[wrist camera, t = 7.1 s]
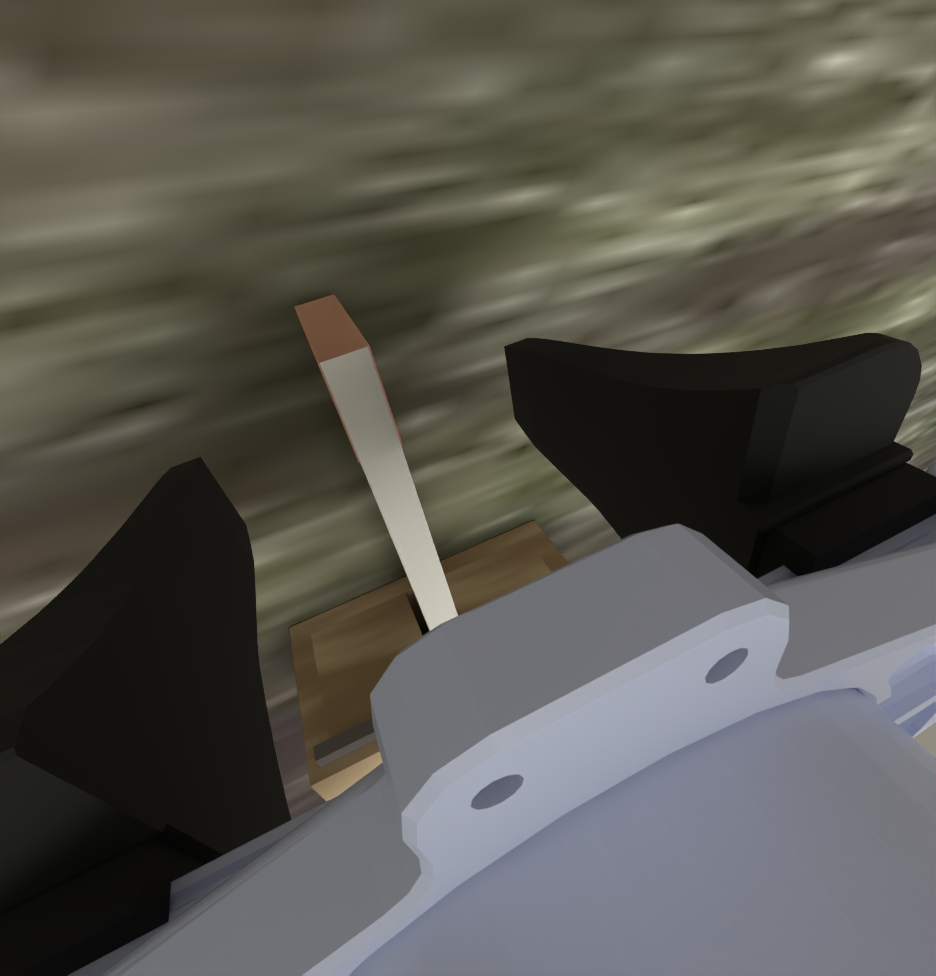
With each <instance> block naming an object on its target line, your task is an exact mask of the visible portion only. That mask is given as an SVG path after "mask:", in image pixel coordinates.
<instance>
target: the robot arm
mask: <svg viewBox="0 0 936 976" xmlns="http://www.w3.org/2000/svg"><path fill="white" fill-rule="evenodd" d="M504 348H505V355H506V361H507V368H508V375H509V382H510V389H511V396H512V402H513V409H514V416H515V420H516V421H517V423H518V424H519V425H520V427H521V428H522V430H523V431H524V432H525V434H526V435H527V437H528V438H529V439H530V440H531V442H532V443H533V444H534V446H535V447H536V448H537V449H538V450H539V451H540V452H541V453H542V454H543V455H544V456H545V457H546V458H547V459H548V460H549V461H550V462H551V463H552V464H553V465H554V466H555V467H556V468H557V469H558V470H559V471H560V472H561V473H562V474H563V475H564V476H565V477H566V478H567V479H568V480H569V481H570V482H571V483H572V484H573V485H574V486H576V487H577V488H578V489H579V490H580V491H581V492H582V493H583V494H584V495H585V496H586V497H587V498H588V499H589V500H590V501H591V503H592V504H593V505H594V506H595V507H596V508H597V509H598V510H599V511H600V513H601V514H602V515H603V516H604V518H605V519H606V520H607V521H608V523H609V524H610V525H611V526H612V528H613V529H614V530H615V531H616V533H617V534H618V535H619V536H620V538H621V540H619V541H617V542H615V543H612V544H610V545H608V546H606V547H604V548H602V549H600V550H598V551H595V552H593V553H591V554H589V555H587V556H585V557H583V558H580V559H578V560H576V561H574V562H572V563H570V564H568V565H566V566H563V567H561V568H559V569H557V570H555V571H553V572H551V573H548V574H546V575H544V576H542V577H540V578H538V579H536V580H534V581H531V582H529V583H527V584H525V585H523V586H521V587H519V588H516V589H514V590H512V591H510V592H508V593H506V594H504V595H501V596H499V597H497V598H495V599H493V600H491V601H489V602H487V603H484V604H482V605H480V606H478V607H476V608H474V609H472V610H469V611H467V612H465V613H463V614H461V615H459V616H457V617H455V618H452V619H450V620H448V621H446V622H444V623H442V624H440V625H438V626H437V627H435V628H434V629H432V630H431V631H429V632H428V633H426V634H425V635H423V636H422V637H420V638H419V639H418V640H416V641H415V642H413V643H412V644H410V645H409V646H407V647H406V648H404V649H403V650H401V651H400V652H399V653H398V654H397V656H396V657H395V658H394V660H393V661H392V663H391V664H390V666H389V667H388V668H387V670H386V671H385V673H384V674H383V676H382V677H381V679H380V680H379V682H378V683H377V685H376V686H375V688H374V689H373V691H372V692H371V694H370V701H371V712H372V722H373V727H374V731H375V735H376V739H377V743H378V747H379V751H380V754H381V758H382V762H383V763H381V764H380V765H379V766H377V767H376V768H375V769H373V770H372V771H371V772H369V773H368V774H367V775H365V776H364V777H363V778H361V779H360V780H359V781H357V782H356V783H355V784H353V785H352V786H351V787H349V788H348V789H347V790H345V791H344V792H343V793H341V794H340V795H338V796H337V797H335V798H333V799H331V800H329V801H327V802H325V803H323V804H321V805H319V806H317V807H315V808H313V809H311V810H309V811H308V812H306V813H304V814H302V815H300V816H298V817H296V818H294V819H292V820H291V817H290V813H289V809H288V805H287V801H286V797H285V793H284V788H283V784H282V779H281V775H280V770H279V766H278V761H277V757H276V752H275V748H274V743H273V738H272V732H271V727H270V722H269V717H268V712H267V707H266V701H265V695H264V689H263V683H262V677H261V672H260V666H259V656H258V645H257V620H256V593H255V572H254V559H253V554H252V549H251V544H250V540H249V535H248V531H247V526H246V524H245V523H244V521H243V520H242V518H241V517H240V515H239V514H238V512H237V511H236V509H235V508H234V506H233V505H232V503H231V502H230V500H229V499H228V497H227V496H226V494H225V493H224V491H223V490H222V488H221V487H220V485H219V484H218V482H217V481H216V479H215V478H214V476H213V475H212V473H211V472H210V470H209V469H208V468H207V466H206V465H205V463H204V462H203V460H202V459H201V457H199V458H196V459H194V460H191V461H188V462H185V463H183V464H180V465H177V466H174V467H172V468H170V469H169V470H168V471H167V472H166V473H165V474H164V475H163V476H162V477H161V479H160V480H159V481H158V482H157V483H156V484H155V486H154V487H153V488H152V489H151V491H150V492H149V493H148V494H147V496H146V497H145V498H144V499H143V501H142V502H141V503H140V504H139V506H138V507H137V508H136V509H135V511H134V512H133V513H132V514H131V516H130V517H129V518H128V519H127V521H126V522H125V523H124V524H123V526H122V527H121V528H120V529H119V530H118V531H117V533H116V534H115V535H114V536H113V537H112V538H111V539H110V541H109V542H108V543H107V544H106V545H105V546H104V547H103V549H102V550H101V551H100V552H99V553H98V554H97V555H96V557H95V558H94V559H93V560H92V561H91V562H90V563H89V564H88V565H87V567H86V568H85V569H84V570H83V571H82V572H81V573H80V574H79V575H78V576H77V577H76V578H75V579H74V580H73V581H72V582H71V583H70V584H69V585H68V586H67V587H66V588H65V589H64V590H63V591H61V592H60V593H59V594H58V595H57V596H56V597H55V598H54V599H53V600H52V601H51V602H50V603H49V604H48V605H47V606H46V607H44V608H43V609H42V610H41V611H40V612H39V613H38V614H37V615H35V616H34V617H33V618H32V619H31V620H29V621H28V622H27V623H26V624H25V625H23V626H22V627H21V628H20V629H18V630H17V631H16V632H15V633H14V634H12V635H11V636H10V637H9V638H8V639H6V640H5V641H4V642H3V643H2V644H0V976H936V758H935V757H934V756H933V755H932V754H931V753H929V752H928V751H927V750H926V749H925V748H924V747H922V746H921V745H920V744H919V743H918V742H917V741H916V740H914V739H913V738H914V737H915V736H917V735H918V734H919V733H921V732H922V731H924V730H925V729H926V728H928V727H929V726H930V725H932V724H933V723H935V722H936V461H935V462H934V463H933V464H932V465H931V466H930V467H929V468H928V469H927V470H926V471H923V470H920V469H918V468H916V467H914V466H912V465H910V464H908V463H906V462H907V461H909V460H911V458H912V456H913V453H912V451H911V449H909V448H907V447H905V446H902V445H900V444H898V443H896V442H894V439H895V437H896V435H897V433H898V431H899V428H900V426H901V424H902V422H903V420H904V417H905V415H906V413H907V411H908V409H909V406H910V404H911V402H912V400H913V398H914V395H915V392H916V389H917V387H918V384H919V381H920V375H921V367H922V365H921V361H920V357H919V352H918V349H916V348H915V347H914V346H913V345H912V344H911V343H909V342H906V341H902V340H899V339H896V338H892V337H889V336H886V335H882V334H878V333H864V334H858V335H853V336H847V337H842V338H836V339H831V340H825V341H820V342H814V343H809V344H803V345H796V346H789V347H781V348H773V349H765V350H755V351H744V352H729V353H709V354H668V353H646V352H635V351H625V350H616V349H608V348H601V347H594V346H588V345H581V344H575V343H569V342H562V341H556V340H548V339H539V338H526V339H524V340H521V341H518V342H515V343H513V344H510V345H507V346H504Z"/></svg>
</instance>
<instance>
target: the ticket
mask: <svg viewBox="0 0 936 976" xmlns="http://www.w3.org/2000/svg"><path fill="white" fill-rule="evenodd" d="M294 308H295V310H296V313H297V315H298V317H299V320H300V322H301V325H302V327H303V329H304V332H305V334H306V337H307V339H308V342H309V344H310V346H311V349H312V351H313V354H314V356H315V359H316V361H317V363H318V366H319V368H320V371H321V373H322V375H323V378H324V380H325V383H326V385H327V387H328V390H329V392H330V395H331V397H332V400H333V402H334V404H335V407H336V409H337V412H338V414H339V416H340V419H341V421H342V424H343V426H344V428H345V431H346V433H347V436H348V438H349V440H350V443H351V445H352V448H353V450H354V452H355V455H356V457H357V460H358V462H359V463H361V466H362V468H363V471H364V473H365V475H366V478H367V480H368V483H369V485H370V488H371V490H372V492H373V495H374V497H375V500H376V502H377V504H378V507H379V509H380V512H381V514H382V517H383V519H384V521H385V524H386V526H387V529H388V531H389V534H390V536H391V538H392V541H393V543H394V546H395V548H396V550H397V553H398V555H399V558H400V560H401V563H402V565H403V567H404V570H405V572H406V575H407V577H408V580H409V582H410V584H411V587H412V589H413V592H414V594H415V597H416V599H417V601H418V604H419V606H420V609H421V611H422V613H423V616H424V618H425V621H426V623H427V626H428V628H429V630H430V631H431V630H432V629H434V628H435V627H437V626H438V625H440V624H442V623H444V622H446V621H448V620H450V619H452V618H455V617H457V616H458V614H457V611H456V608H455V605H454V602H453V599H452V596H451V593H450V590H449V587H448V584H447V581H446V578H445V575H444V572H443V569H442V566H441V563H440V560H439V557H438V554H437V551H436V548H435V545H434V543H433V540H432V537H431V534H430V531H429V528H428V525H427V522H426V519H425V516H424V513H423V510H422V507H421V504H420V501H419V498H418V495H417V492H416V489H415V486H414V483H413V480H412V477H411V474H410V471H409V468H408V465H407V462H406V459H405V456H404V453H403V450H402V446H403V444H402V441H401V438H400V435H399V432H398V429H397V426H396V423H395V420H394V417H393V414H392V411H391V408H390V405H389V402H388V399H387V396H386V393H385V390H384V387H383V384H382V381H381V378H380V375H379V372H378V369H377V366H376V363H375V360H374V357H373V354H372V351H371V348H370V346H369V344H368V343H367V341H366V340H365V338H364V337H363V335H362V334H361V332H360V331H359V330H358V328H357V327H356V325H355V324H354V322H353V321H352V319H351V318H350V317H349V315H348V314H347V312H346V311H345V309H344V308H343V306H342V305H341V303H340V302H339V301H338V299H337V298H336V296H335V295H334V294H333V295H330V296H326V297H323V298H320V299H317V300H314V301H311V302H308V303H304V304H301V305H298V306H295V307H294Z"/></svg>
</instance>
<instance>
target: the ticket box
mask: <svg viewBox="0 0 936 976" xmlns="http://www.w3.org/2000/svg"><path fill="white" fill-rule="evenodd" d="M440 563H441V566H442V569H443V572H444V575H445V578H446V581H447V584H448V587H449V590H450V593H451V596H452V599H453V602H454V605H455V608H456V611H457V614H458V616H459V615H461V614H463V613H465V612H467V611H469V610H472V609H474V608H476V607H478V606H480V605H482V604H484V603H487V602H489V601H491V600H493V599H495V598H497V597H499V596H501V595H504V594H506V593H508V592H510V591H512V590H514V589H516V588H519V587H521V586H523V585H525V584H527V583H529V582H531V581H534V580H536V579H538V578H540V577H542V576H544V575H546V574H548V573H551V572H553V571H555V570H557V569H559V568H561V567H563V566H566V565H568V564H569V563H568V562H567V561H566V560H565V558H564V557H563V556H562V555H561V553H560V552H559V551H558V550H557V548H556V547H555V546H554V545H553V543H552V542H551V541H550V540H549V538H548V537H547V536H546V535H545V533H544V532H543V531H542V530H541V528H540V527H539V526H538V525H537V523H536V522H535V521H534V520H533V521H531V522H528V523H526V524H524V525H521V526H519V527H517V528H515V529H512V530H510V531H508V532H506V533H503V534H501V535H499V536H496V537H494V538H492V539H490V540H487V541H485V542H483V543H481V544H478V545H476V546H474V547H471V548H469V549H467V550H465V551H462V552H460V553H458V554H456V555H453V556H451V557H449V558H446V559H444V560H442V561H440ZM289 631H290V639H291V646H292V653H293V661H294V668H295V676H296V683H297V690H298V698H299V705H300V712H301V720H302V727H303V734H304V742H305V749H306V757H307V764H308V771H309V779H310V786H311V787H312V788H313V789H314V790H315V791H316V792H317V793H318V794H319V795H320V796H322V797H323V798H324V799H325V800H326V801H329V800H331V799H333V798H335V797H337V796H338V795H340V794H341V793H343V792H344V791H345V790H347V789H348V788H349V787H351V786H352V785H353V784H355V783H356V782H357V781H359V780H360V779H361V778H363V777H364V776H365V775H367V774H368V773H369V772H371V771H372V770H373V769H375V768H376V767H377V766H379V765H380V764H381V763H383V762H382V758H381V754H380V751H379V747H378V743H377V739H376V735H375V731H374V727H373V722H372V712H371V701H370V694H371V692H372V691H373V689H374V688H375V686H376V685H377V683H378V682H379V680H380V679H381V677H382V676H383V674H384V673H385V671H386V670H387V668H388V667H389V666H390V664H391V663H392V661H393V660H394V658H395V657H396V656H397V654H398V653H399V652H400V651H401V650H403V649H404V648H406V647H407V646H409V645H410V644H412V643H413V642H415V641H416V640H418V639H419V638H420V637H422V636H423V635H425V634H426V633H428V632H429V631H430V630H429V628H428V626H427V623H426V621H425V618H424V616H423V613H422V611H421V609H420V606H419V604H418V601H417V599H416V597H415V594H414V592H413V589H412V587H411V584H410V582H409V580H408V577H407V576H406V577H403V578H401V579H399V580H396V581H394V582H392V583H390V584H387V585H385V586H383V587H380V588H378V589H376V590H374V591H371V592H369V593H367V594H365V595H362V596H360V597H358V598H355V599H353V600H351V601H349V602H346V603H344V604H342V605H340V606H337V607H335V608H333V609H330V610H328V611H326V612H324V613H321V614H319V615H317V616H315V617H312V618H310V619H308V620H305V621H303V622H301V623H299V624H296V625H294V626H292V627H290V628H289Z"/></svg>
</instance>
